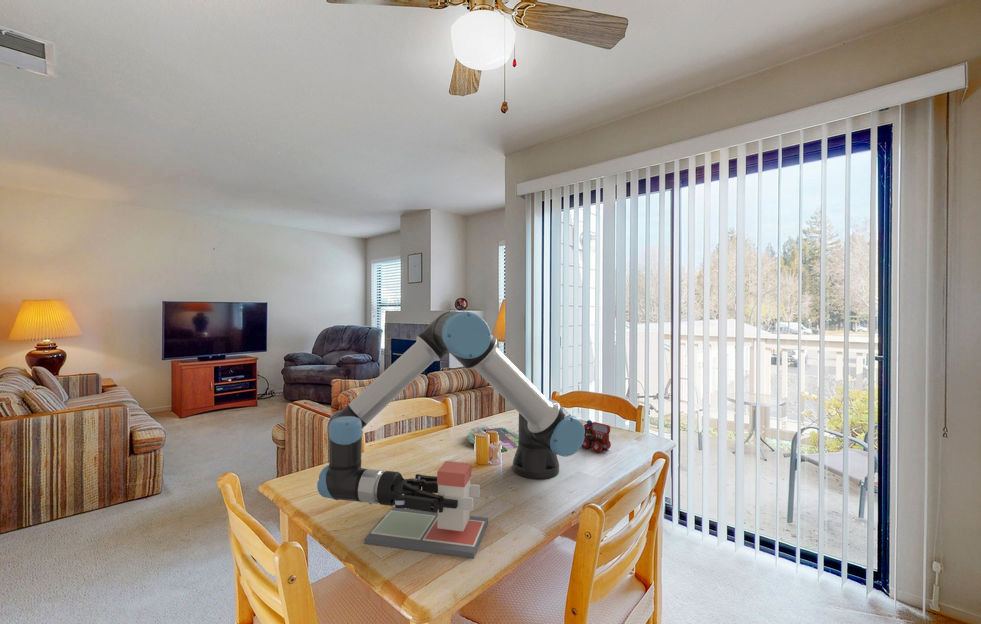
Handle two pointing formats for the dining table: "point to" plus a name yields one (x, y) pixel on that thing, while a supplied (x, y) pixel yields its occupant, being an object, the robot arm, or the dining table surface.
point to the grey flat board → (426, 533)
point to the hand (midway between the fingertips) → (476, 497)
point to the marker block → (454, 493)
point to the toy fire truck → (596, 436)
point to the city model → (505, 436)
